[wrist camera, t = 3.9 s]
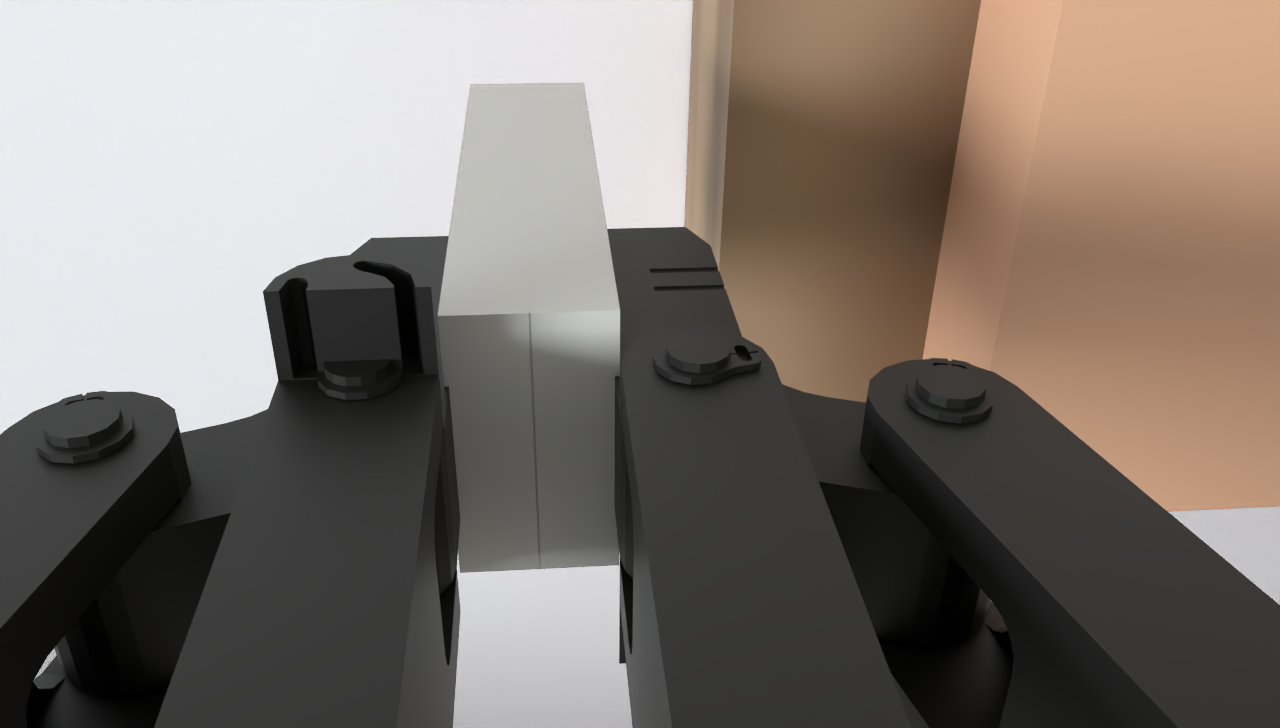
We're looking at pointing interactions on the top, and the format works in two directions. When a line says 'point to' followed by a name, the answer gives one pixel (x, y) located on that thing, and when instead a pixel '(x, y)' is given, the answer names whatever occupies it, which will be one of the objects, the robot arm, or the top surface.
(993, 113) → the block
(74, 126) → the top surface
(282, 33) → the top surface
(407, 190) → the top surface
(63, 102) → the top surface
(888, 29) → the tan panel
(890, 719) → the robot arm
